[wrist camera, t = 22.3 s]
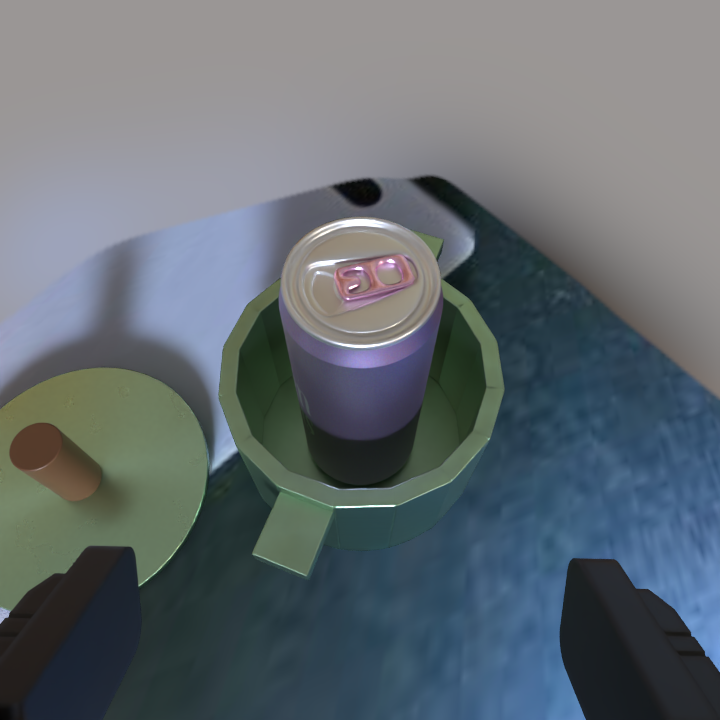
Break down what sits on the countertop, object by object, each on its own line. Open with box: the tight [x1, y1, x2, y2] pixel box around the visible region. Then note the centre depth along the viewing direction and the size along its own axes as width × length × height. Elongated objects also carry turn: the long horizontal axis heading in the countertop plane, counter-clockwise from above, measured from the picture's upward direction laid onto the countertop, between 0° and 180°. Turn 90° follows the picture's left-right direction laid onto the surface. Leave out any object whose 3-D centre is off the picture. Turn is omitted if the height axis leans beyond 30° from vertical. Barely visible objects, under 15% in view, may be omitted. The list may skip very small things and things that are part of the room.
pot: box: [218, 229, 504, 580], centre depth 31 cm, size 13×18×8 cm
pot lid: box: [0, 367, 209, 611], centre depth 31 cm, size 14×14×6 cm
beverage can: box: [279, 217, 443, 485], centre depth 28 cm, size 6×6×15 cm
